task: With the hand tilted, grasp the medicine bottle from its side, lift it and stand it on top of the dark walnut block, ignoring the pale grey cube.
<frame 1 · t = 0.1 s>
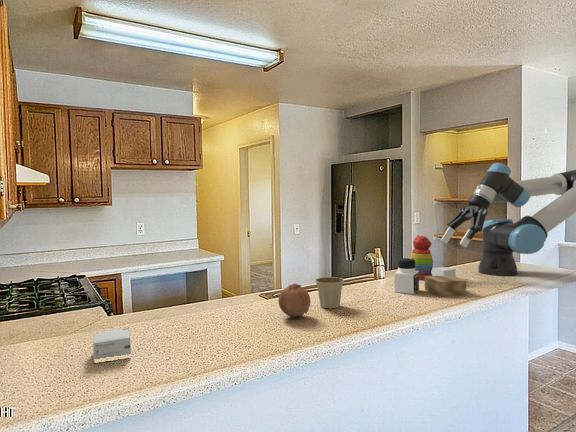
hand: (452, 243, 159), 15 cm above the counter, tool tilted 35°, fingers open, 13 cm apart
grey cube: (443, 283, 159), on the counter
onion: (294, 318, 120), on the counter
medicine bottle: (406, 291, 148), on the counter
small box: (112, 357, 94), on the counter
walnut block: (444, 292, 145), on the counter
flower pot: (330, 307, 130), on the counter
stacking bear: (422, 278, 170), on the counter
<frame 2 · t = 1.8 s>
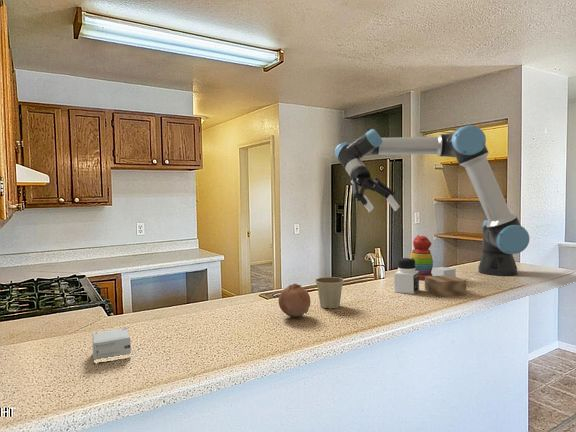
hand: (384, 209, 155), 30 cm above the counter, tool tilted 45°, fingers open, 13 cm apart
nothing on the counter moved.
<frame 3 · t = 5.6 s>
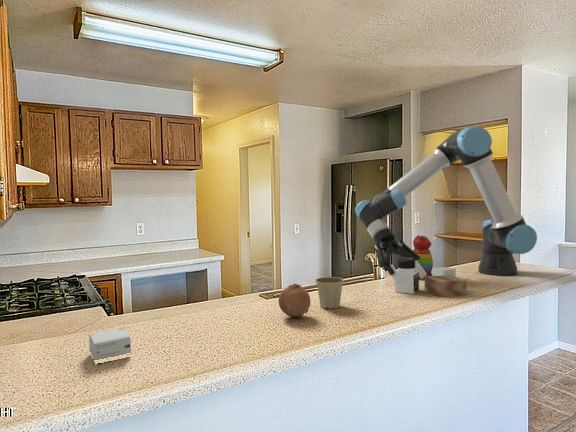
hand: (412, 279, 146), 5 cm above the counter, tool tilted 45°, fingers open, 12 cm apart
nothing on the counter moved.
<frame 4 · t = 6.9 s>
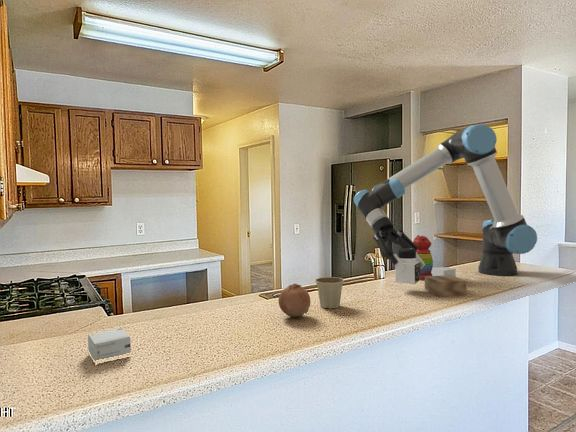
hand: (413, 268, 145), 9 cm above the counter, tool tilted 45°, fingers closed on medicine bottle, 9 cm apart
medicine bottle: (407, 282, 147), point 3 cm above the counter, touching gripper
everything else where it was.
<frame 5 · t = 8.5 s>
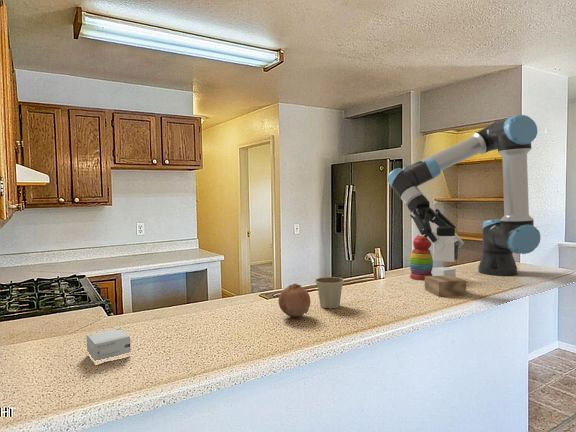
hand: (452, 246, 141), 17 cm above the counter, tool tilted 45°, fingers closed on medicine bottle, 9 cm apart
medicine bottle: (445, 260, 144), point 11 cm above the counter, touching gripper
everything else where it was.
when the fingers open (10 cm above the counter, at t = 10.4 s): medicine bottle stays where it is, resting on walnut block.
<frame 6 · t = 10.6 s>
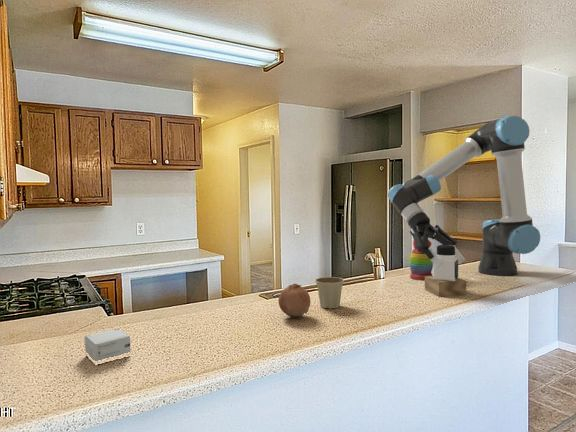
hand: (451, 263, 142), 11 cm above the counter, tool tilted 45°, fingers open, 11 cm apart
medicine bottle: (446, 279, 144), point 5 cm above the counter, touching walnut block
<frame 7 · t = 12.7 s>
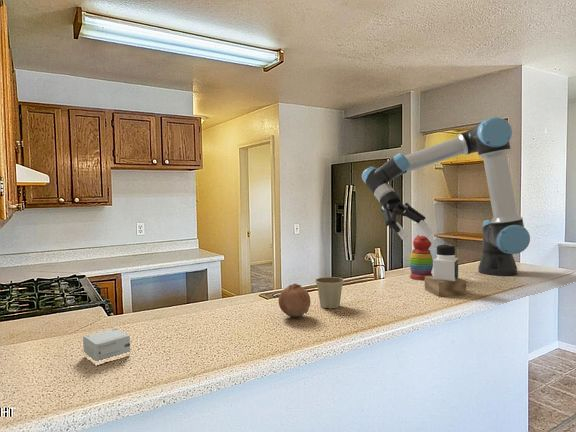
hand: (418, 236, 154), 19 cm above the counter, tool tilted 45°, fingers open, 13 cm apart
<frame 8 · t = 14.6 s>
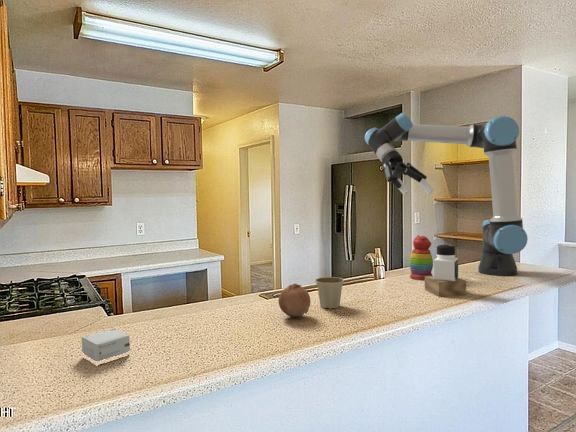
hand: (418, 192, 155), 36 cm above the counter, tool tilted 45°, fingers open, 13 cm apart
at the end: medicine bottle inside the target area on the walnut block (0.6 cm from its centre), point 4.8 cm above the walnut block's base; medicine bottle tilted 0°; the gripper is holding nothing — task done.
